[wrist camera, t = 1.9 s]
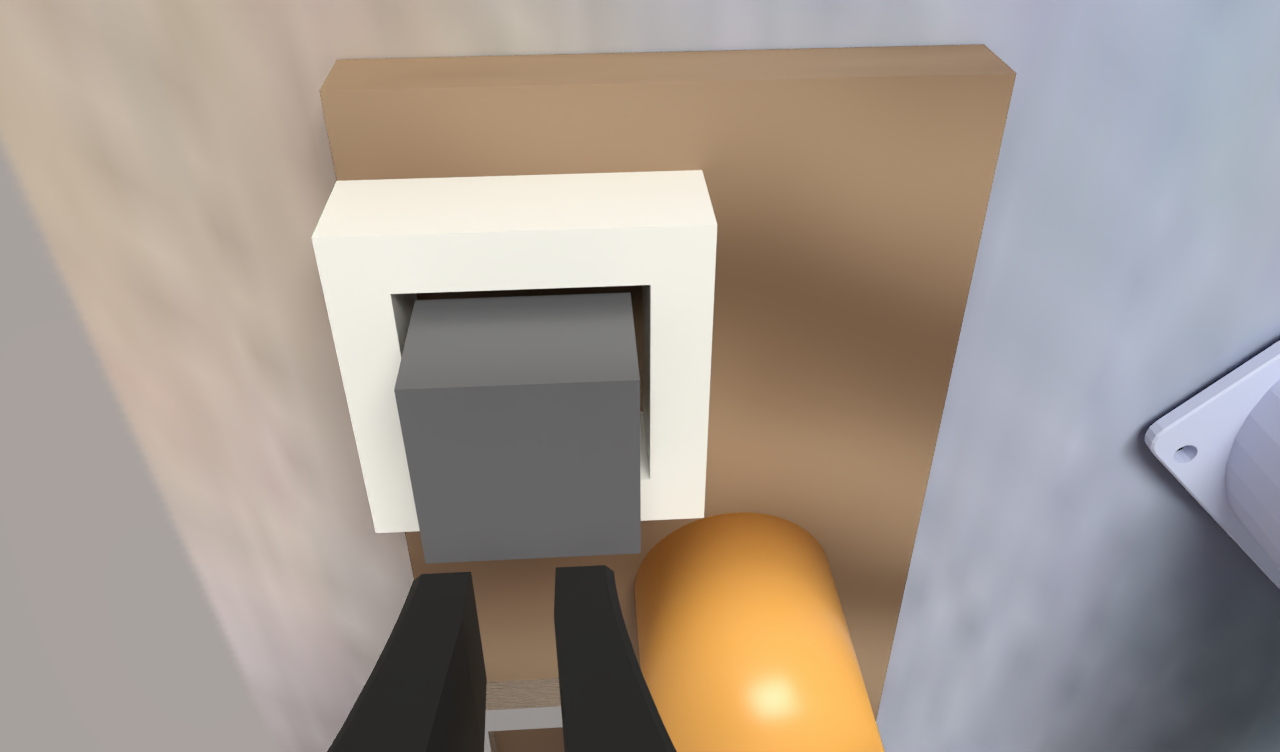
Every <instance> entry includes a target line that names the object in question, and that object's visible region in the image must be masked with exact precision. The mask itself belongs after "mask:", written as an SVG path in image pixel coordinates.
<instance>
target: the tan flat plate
mask: <svg viewBox="0 0 1280 752" xmlns="http://www.w3.org/2000/svg"><path fill="white" fill-rule="evenodd" d="M1015 77H1016V72H1014V71H1013V70H1012V69H1011V68H1010V67H1009V66H1008V65H1007V64H1005V63H1004V62H1003V61H1002V60H1001V59H1000V58H999V57H998V56H997V55H995V54H994V53H993V52H992V51H991V50H990V49H989V48H988V47H986V46H985V45H984V44H980V45H938V46H895V47H853V48H811V49H769V50H726V51H684V52H642V53H600V54H557V55H515V56H473V57H430V58H388V59H346V60H337V61H336V63H335V64H334V66H333V68H332V70H331V71H330V73H329V75H328V77H327V78H326V80H325V82H324V84H323V85H322V87H321V89H320V97H321V102H322V107H323V112H324V117H325V122H326V128H327V133H328V138H329V143H330V148H331V153H332V158H333V164H334V169H335V174H336V179H337V181H347V180H381V179H415V178H449V177H483V176H517V175H550V174H584V173H618V172H652V171H686V170H702V171H703V175H704V178H705V182H706V186H707V189H708V193H709V196H710V200H711V204H712V207H713V211H714V214H715V218H716V222H717V243H716V265H715V287H714V309H713V331H712V353H711V375H710V397H709V419H708V441H707V463H706V485H705V507H704V518H706V517H710V516H715V515H720V514H726V513H737V512H751V513H761V514H767V515H772V516H776V517H779V518H782V519H785V520H788V521H790V522H792V523H795V524H797V525H799V526H800V527H802V528H803V529H805V530H806V531H808V532H809V533H810V534H811V535H812V536H813V537H814V538H815V539H816V540H817V541H818V542H819V544H820V545H821V546H822V548H823V550H824V552H825V554H826V557H827V560H828V563H829V566H830V569H831V573H832V576H833V580H834V583H835V586H836V590H837V593H838V596H839V600H840V603H841V606H842V610H843V613H844V617H845V620H846V623H847V627H848V630H849V633H850V637H851V640H852V644H853V647H854V650H855V654H856V657H857V660H858V664H859V667H860V671H861V674H862V677H863V681H864V684H865V687H866V691H867V694H868V697H869V701H870V704H871V708H872V711H873V714H874V718H875V721H876V718H877V714H878V709H879V704H880V700H881V695H882V691H883V686H884V681H885V677H886V672H887V668H888V663H889V658H890V654H891V649H892V644H893V640H894V635H895V631H896V626H897V621H898V617H899V612H900V608H901V603H902V598H903V594H904V589H905V584H906V580H907V575H908V571H909V566H910V561H911V557H912V552H913V548H914V543H915V538H916V534H917V529H918V525H919V520H920V515H921V511H922V506H923V501H924V497H925V492H926V488H927V483H928V478H929V474H930V469H931V465H932V460H933V455H934V451H935V446H936V441H937V437H938V432H939V428H940V423H941V418H942V414H943V409H944V405H945V400H946V395H947V391H948V386H949V382H950V377H951V372H952V368H953V363H954V358H955V354H956V349H957V345H958V340H959V335H960V331H961V326H962V322H963V317H964V312H965V308H966V303H967V298H968V294H969V289H970V285H971V280H972V275H973V271H974V266H975V262H976V257H977V252H978V248H979V243H980V239H981V234H982V229H983V225H984V220H985V215H986V211H987V206H988V202H989V197H990V192H991V188H992V183H993V179H994V174H995V169H996V165H997V160H998V155H999V151H1000V146H1001V142H1002V137H1003V132H1004V128H1005V123H1006V119H1007V114H1008V109H1009V105H1010V100H1011V96H1012V91H1013V86H1014V82H1015ZM629 292H630V293H631V302H632V311H633V320H634V330H635V339H636V348H637V357H638V367H639V376H640V412H642V411H643V293H642V285H634V286H606V287H577V288H549V289H520V290H492V291H463V292H435V293H416V295H417V300H431V299H460V298H488V297H516V296H544V295H572V294H601V293H629ZM700 519H703V518H691V519H670V520H648V521H641V553H637V554H616V555H595V556H575V557H554V558H533V559H513V560H492V561H471V562H451V563H430V564H426V562H425V557H424V551H423V546H422V540H421V535H420V531H413V532H405V535H406V540H407V545H408V551H409V556H410V561H411V566H412V571H413V576H414V580H415V579H416V578H418V577H419V576H420V575H421V574H433V573H453V572H471V574H472V581H473V588H474V595H475V601H476V608H477V615H478V622H479V629H480V636H481V643H482V650H483V656H484V663H485V670H486V677H487V682H497V681H515V680H534V679H552V678H559V675H558V663H557V650H556V638H555V625H554V596H555V572H556V567H576V566H597V565H606V566H607V567H608V568H610V569H611V570H613V571H614V575H615V583H616V589H617V594H618V599H619V603H620V607H621V611H622V615H623V618H624V622H625V625H626V628H627V632H628V634H629V637H630V640H631V643H632V646H633V649H634V652H635V655H636V658H637V661H638V663H639V666H640V654H639V641H638V628H637V615H636V602H635V579H636V576H637V572H638V570H639V567H640V565H641V563H642V561H643V560H644V558H645V557H646V555H647V554H648V553H649V552H650V551H651V549H652V548H653V547H654V546H655V545H656V544H657V543H659V542H660V541H661V540H662V539H663V538H664V537H666V536H667V535H669V534H670V533H672V532H673V531H675V530H677V529H679V528H681V527H683V526H684V525H687V524H689V523H692V522H694V521H697V520H700ZM640 669H641V667H640ZM494 733H495V740H496V747H497V752H565V750H564V738H563V727H557V728H540V729H522V730H505V731H494Z"/></svg>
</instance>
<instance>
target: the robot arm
mask: <svg viewBox="0 0 1280 752" xmlns="http://www.w3.org/2000/svg"><path fill="white" fill-rule="evenodd" d="M1145 442H1146V445H1147V446H1148V448H1149V449H1150V450H1151V452H1152V453H1153V454H1154V455H1155V457H1156V458H1157V459H1158V460H1159V461H1160V462H1161V463H1162V464H1163V465H1164V466H1165V467H1166V468H1167V469H1168V470H1169V471H1170V473H1171V474H1172V475H1173V476H1174V477H1175V478H1176V479H1177V480H1178V481H1179V482H1180V483H1181V484H1182V485H1183V486H1184V488H1185V489H1186V490H1187V491H1188V492H1189V493H1190V494H1191V495H1192V496H1193V497H1194V498H1195V499H1196V500H1197V501H1198V503H1199V504H1200V505H1201V506H1202V507H1203V508H1204V509H1205V510H1206V511H1207V512H1208V513H1209V514H1210V515H1211V516H1212V518H1213V519H1214V520H1215V521H1216V522H1217V523H1218V524H1219V525H1220V526H1221V527H1222V528H1223V529H1224V530H1225V531H1226V533H1227V534H1228V535H1229V536H1230V537H1231V538H1232V539H1233V540H1234V541H1235V542H1236V543H1237V544H1238V545H1239V546H1240V548H1241V549H1242V550H1243V551H1244V552H1245V553H1246V554H1247V555H1248V556H1249V557H1250V558H1251V559H1252V560H1253V561H1254V563H1255V564H1256V565H1257V566H1258V567H1259V568H1260V569H1261V570H1262V571H1263V572H1264V573H1265V574H1266V575H1267V576H1268V577H1269V579H1270V580H1271V581H1272V582H1273V583H1274V584H1275V585H1276V586H1277V587H1278V588H1279V589H1280V340H1279V341H1278V342H1276V343H1275V344H1273V345H1272V346H1270V347H1268V348H1267V349H1265V350H1264V351H1262V352H1261V353H1259V354H1258V355H1256V356H1255V357H1253V358H1252V359H1250V360H1249V361H1247V362H1246V363H1244V364H1243V365H1241V366H1239V367H1238V368H1236V369H1235V370H1233V371H1232V372H1230V373H1229V374H1227V375H1226V376H1224V377H1223V378H1221V379H1220V380H1218V381H1217V382H1215V383H1214V384H1212V385H1210V386H1209V387H1207V388H1206V389H1204V390H1203V391H1201V392H1200V393H1198V394H1197V395H1195V396H1194V397H1192V398H1191V399H1189V400H1188V401H1186V402H1184V403H1183V404H1181V405H1180V406H1178V407H1177V408H1175V409H1174V410H1172V411H1171V412H1169V413H1168V414H1166V415H1165V416H1163V417H1162V418H1160V419H1159V420H1157V421H1156V422H1155V423H1153V424H1152V425H1151V426H1150V427H1149V429H1148V430H1147V432H1146V434H1145ZM1184 446H1185V447H1184ZM1181 447H1184V448H1183V449H1181V450H1179V451H1177V450H1178V449H1179V448H1181ZM1176 451H1177V452H1176ZM554 625H555V638H556V650H557V663H558V675H559V688H560V700H561V713H562V725H563V738H564V750H565V752H677V751H676V749H675V747H674V745H673V743H672V741H671V739H670V737H669V734H668V732H667V730H666V728H665V726H664V724H663V721H662V719H661V717H660V714H659V712H658V710H657V707H656V705H655V703H654V700H653V698H652V696H651V693H650V691H649V688H648V686H647V684H646V681H645V679H644V677H643V674H642V671H641V669H640V666H639V663H638V661H637V658H636V655H635V652H634V649H633V646H632V643H631V640H630V637H629V634H628V632H627V628H626V625H625V622H624V618H623V615H622V611H621V607H620V603H619V599H618V594H617V589H616V583H615V575H614V571H613V570H611V569H610V568H608V567H607V566H606V565H597V566H576V567H556V572H555V596H554ZM486 685H487V677H486V670H485V663H484V656H483V650H482V643H481V636H480V629H479V622H478V615H477V608H476V601H475V595H474V588H473V581H472V574H471V572H453V573H433V574H421V575H420V576H419V577H418V578H416V579H415V580H414V581H413V583H412V586H411V589H410V591H409V594H408V596H407V599H406V601H405V604H404V606H403V608H402V611H401V613H400V615H399V618H398V620H397V622H396V624H395V626H394V629H393V631H392V633H391V635H390V637H389V639H388V641H387V643H386V645H385V647H384V649H383V651H382V653H381V655H380V657H379V659H378V661H377V663H376V665H375V667H374V669H373V671H372V673H371V675H370V677H369V679H368V681H367V682H366V684H365V686H364V688H363V690H362V692H361V693H360V695H359V697H358V699H357V701H356V703H355V704H354V706H353V708H352V710H351V712H350V714H349V715H348V717H347V719H346V721H345V723H344V724H343V726H342V728H341V730H340V731H339V733H338V735H337V737H336V738H335V740H334V741H333V743H332V745H331V746H330V748H329V750H328V751H327V752H484V740H485V715H486Z"/></svg>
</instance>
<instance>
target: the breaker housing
mask: <svg viewBox="0 0 1280 752" xmlns="http://www.w3.org/2000/svg"><path fill="white" fill-rule="evenodd" d="M312 242H313V247H314V252H315V256H316V261H317V265H318V270H319V275H320V279H321V284H322V288H323V293H324V298H325V302H326V307H327V311H328V316H329V321H330V325H331V330H332V334H333V339H334V344H335V348H336V353H337V357H338V362H339V367H340V371H341V376H342V380H343V385H344V390H345V394H346V399H347V403H348V408H349V413H350V417H351V422H352V426H353V431H354V436H355V440H356V445H357V449H358V454H359V459H360V463H361V468H362V472H363V477H364V482H365V486H366V491H367V495H368V500H369V505H370V509H371V514H372V518H373V523H374V528H375V532H376V533H391V532H413V531H420V529H419V524H418V518H417V513H416V507H415V502H414V496H413V491H412V485H411V480H410V474H409V469H408V463H407V458H406V452H405V447H404V441H403V436H402V430H401V425H400V419H399V414H398V408H397V403H396V397H395V392H394V388H395V384H396V380H397V375H398V371H399V367H400V362H401V358H402V354H403V350H404V345H405V341H406V337H407V333H408V328H409V324H410V320H411V315H412V311H413V307H414V303H415V300H417V295H416V293H435V292H463V291H492V290H520V289H549V288H577V287H606V286H634V285H642V293H643V411H642V412H640V498H641V521H648V520H670V519H691V518H704V507H705V485H706V463H707V441H708V419H709V397H710V375H711V353H712V331H713V309H714V287H715V265H716V243H717V222H716V218H715V214H714V211H713V207H712V204H711V200H710V196H709V193H708V189H707V186H706V182H705V178H704V175H703V171H702V170H686V171H652V172H618V173H584V174H550V175H517V176H483V177H449V178H415V179H381V180H347V181H336V183H335V186H334V188H333V190H332V192H331V195H330V197H329V199H328V202H327V204H326V206H325V208H324V211H323V213H322V215H321V217H320V220H319V222H318V224H317V226H316V229H315V231H314V233H313V235H312Z"/></svg>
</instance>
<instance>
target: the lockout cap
mask: <svg viewBox="0 0 1280 752" xmlns="http://www.w3.org/2000/svg"><path fill="white" fill-rule="evenodd" d="M635 602H636V615H637V628H638V641H639V654H640V667H641V671H642V674H643V677H644V679H645V681H646V684H647V686H648V688H649V691H650V693H651V696H652V698H653V700H654V703H655V705H656V707H657V710H658V712H659V714H660V717H661V719H662V721H663V724H664V726H665V728H666V730H667V732H668V734H669V737H670V739H671V741H672V743H673V745H674V747H675V749H676V751H677V752H885V751H884V748H883V745H882V741H881V738H880V735H879V731H878V728H877V724H876V721H875V718H874V714H873V711H872V708H871V704H870V701H869V697H868V694H867V691H866V687H865V684H864V681H863V677H862V674H861V671H860V667H859V664H858V660H857V657H856V654H855V650H854V647H853V644H852V640H851V637H850V633H849V630H848V627H847V623H846V620H845V617H844V613H843V610H842V606H841V603H840V600H839V596H838V593H837V590H836V586H835V583H834V580H833V576H832V573H831V569H830V566H829V563H828V560H827V557H826V554H825V552H824V550H823V548H822V546H821V545H820V544H819V542H818V541H817V540H816V539H815V538H814V537H813V536H812V535H811V534H810V533H809V532H808V531H806V530H805V529H803V528H802V527H800V526H799V525H797V524H795V523H792V522H790V521H788V520H785V519H782V518H779V517H776V516H772V515H767V514H761V513H751V512H737V513H726V514H720V515H715V516H710V517H706V518H703V519H700V520H697V521H694V522H692V523H689V524H687V525H684V526H683V527H681V528H679V529H677V530H675V531H673V532H672V533H670V534H669V535H667V536H666V537H664V538H663V539H662V540H661V541H660V542H659V543H657V544H656V545H655V546H654V547H653V548H652V549H651V551H650V552H649V553H648V554H647V555H646V557H645V558H644V560H643V561H642V563H641V565H640V567H639V570H638V572H637V576H636V579H635Z"/></svg>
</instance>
